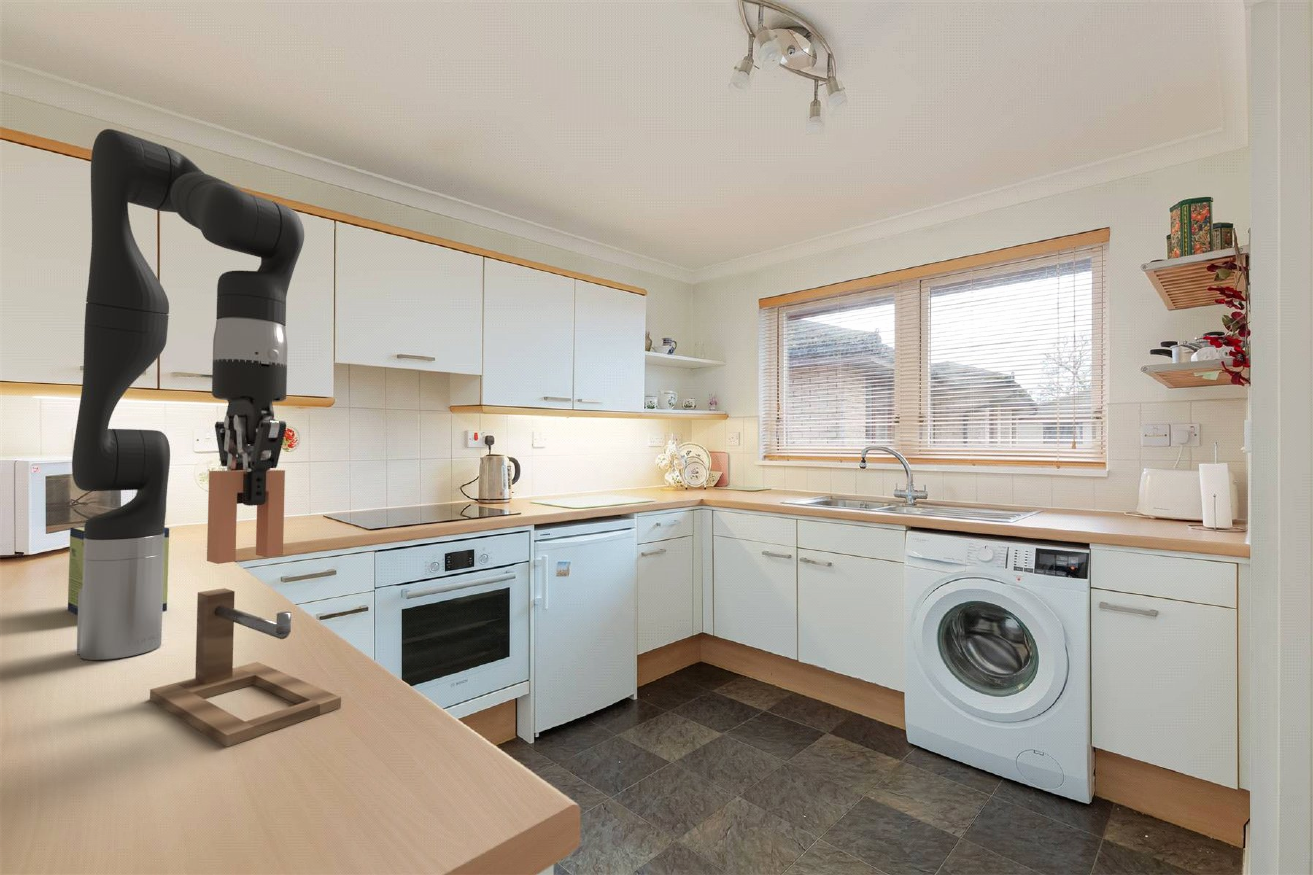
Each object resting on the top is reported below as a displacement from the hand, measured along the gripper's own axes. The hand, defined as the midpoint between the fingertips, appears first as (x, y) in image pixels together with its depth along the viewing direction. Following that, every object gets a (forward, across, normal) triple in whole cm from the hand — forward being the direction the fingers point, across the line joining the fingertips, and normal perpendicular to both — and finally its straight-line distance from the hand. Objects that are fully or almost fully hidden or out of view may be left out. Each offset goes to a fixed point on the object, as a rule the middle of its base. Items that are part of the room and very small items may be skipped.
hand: (247, 503), depth 74 cm
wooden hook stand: (+24, 0, 0) cm, 24 cm away
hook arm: (+15, +1, 0) cm, 15 cm away
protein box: (+24, -65, +5) cm, 70 cm away
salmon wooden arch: (+7, 0, 0) cm, 7 cm away
